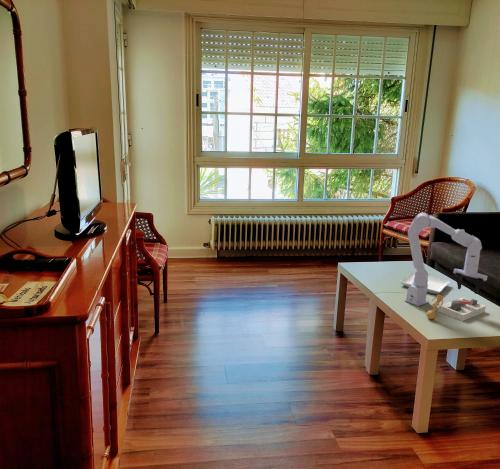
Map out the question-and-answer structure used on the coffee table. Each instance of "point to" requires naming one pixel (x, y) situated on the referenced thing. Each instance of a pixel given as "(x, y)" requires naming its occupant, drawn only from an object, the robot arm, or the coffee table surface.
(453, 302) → the button
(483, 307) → the panel
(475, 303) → the slider
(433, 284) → the salad plate
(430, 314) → the figurine
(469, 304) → the plate
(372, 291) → the coffee table surface
